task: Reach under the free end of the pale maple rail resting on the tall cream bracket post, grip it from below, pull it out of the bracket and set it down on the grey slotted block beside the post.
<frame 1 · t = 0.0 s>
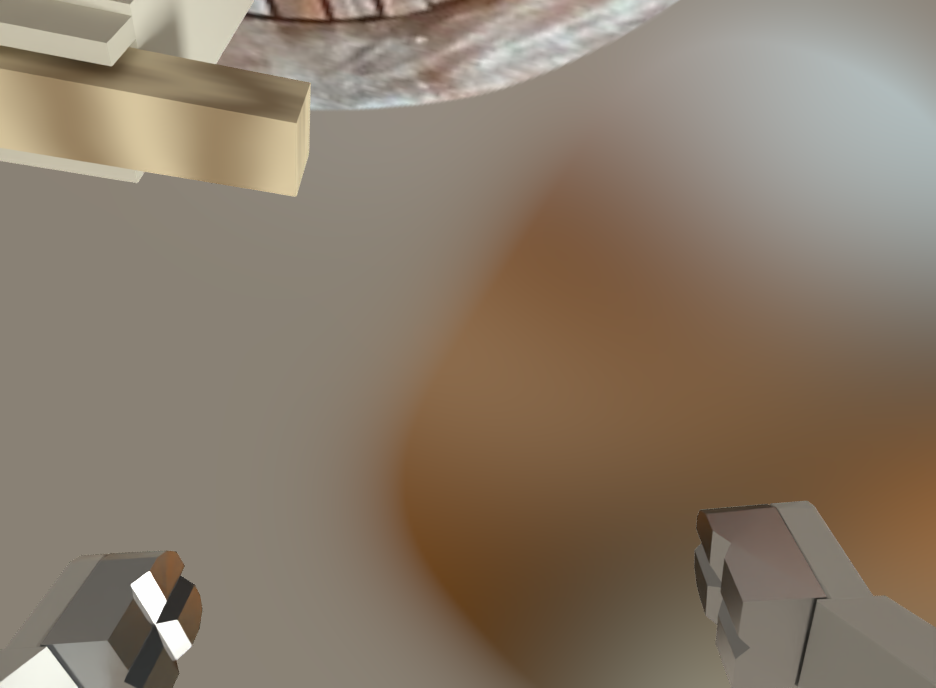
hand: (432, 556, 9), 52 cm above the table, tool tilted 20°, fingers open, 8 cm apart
rail: (102, 81, 30), point 26 cm above the table, touching bracket post
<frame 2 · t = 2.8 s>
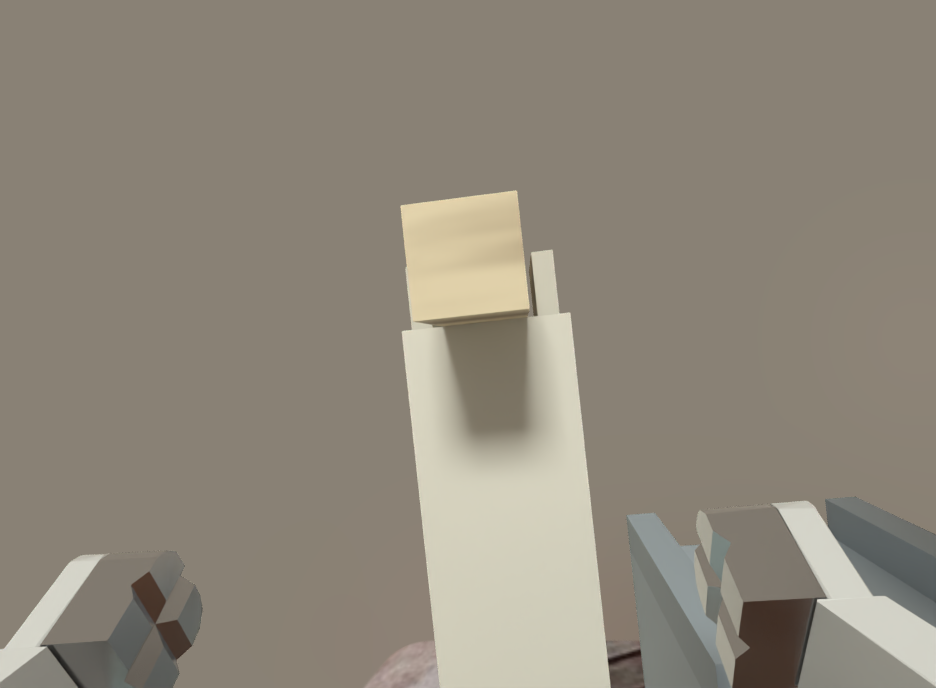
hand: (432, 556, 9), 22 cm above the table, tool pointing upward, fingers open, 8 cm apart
rail: (487, 323, 30), point 26 cm above the table, touching bracket post
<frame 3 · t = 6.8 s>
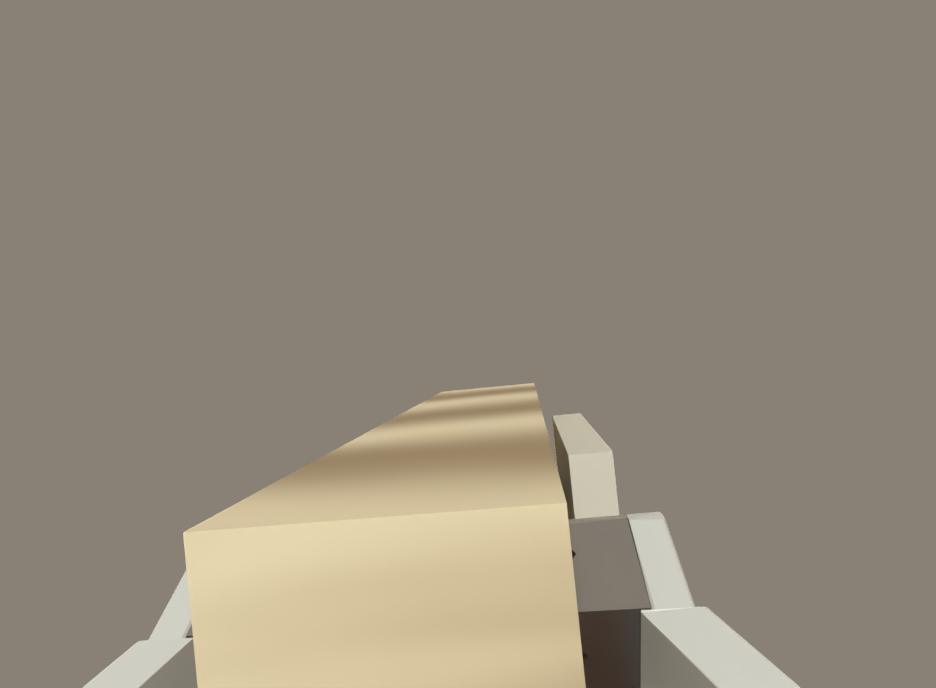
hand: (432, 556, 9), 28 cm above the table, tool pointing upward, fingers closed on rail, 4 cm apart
rail: (480, 562, 16), point 26 cm above the table, touching bracket post, gripper
when the fingers open (20 cm above the table, at t = 13.7 s): rail drops 2 cm, resting on grey slotted block.
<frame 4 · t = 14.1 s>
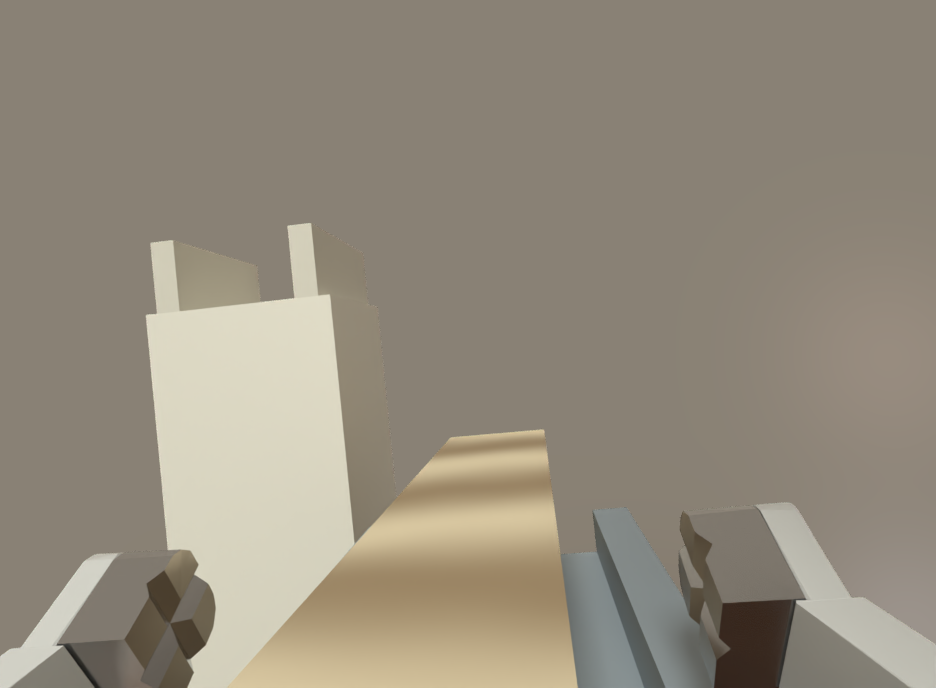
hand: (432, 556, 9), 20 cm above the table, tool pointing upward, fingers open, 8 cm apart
rail: (489, 641, 16), point 15 cm above the table, touching grey slotted block
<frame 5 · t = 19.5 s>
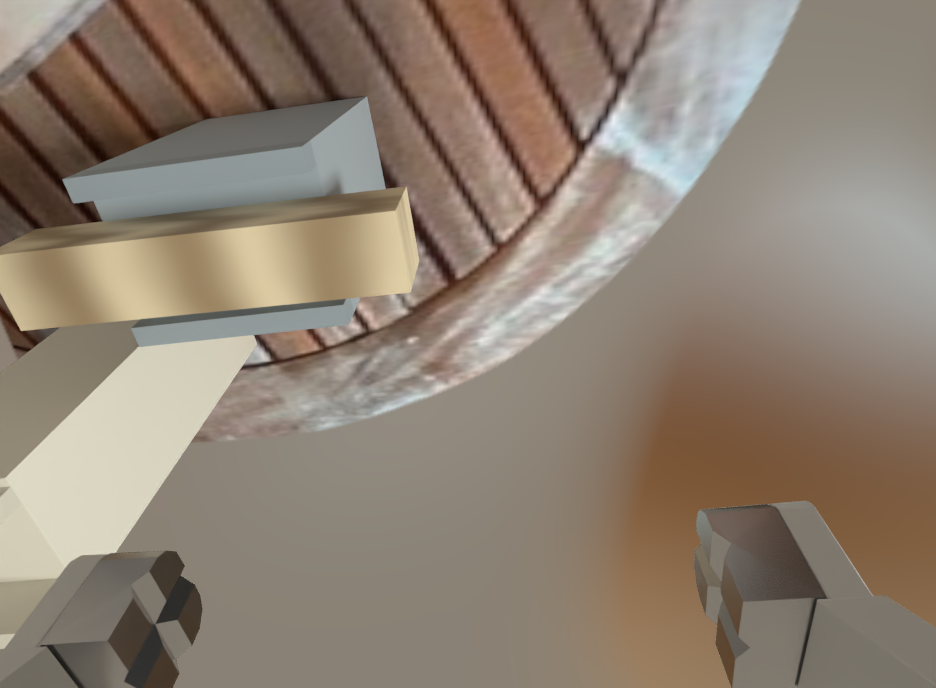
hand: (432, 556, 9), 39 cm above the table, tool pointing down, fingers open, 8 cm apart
grey slotted block: (302, 173, 46), on the table
rail: (228, 245, 32), point 15 cm above the table, touching grey slotted block
bracket post: (198, 308, 52), on the table
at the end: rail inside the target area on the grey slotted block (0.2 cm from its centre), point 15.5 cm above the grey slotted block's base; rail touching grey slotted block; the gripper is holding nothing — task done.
